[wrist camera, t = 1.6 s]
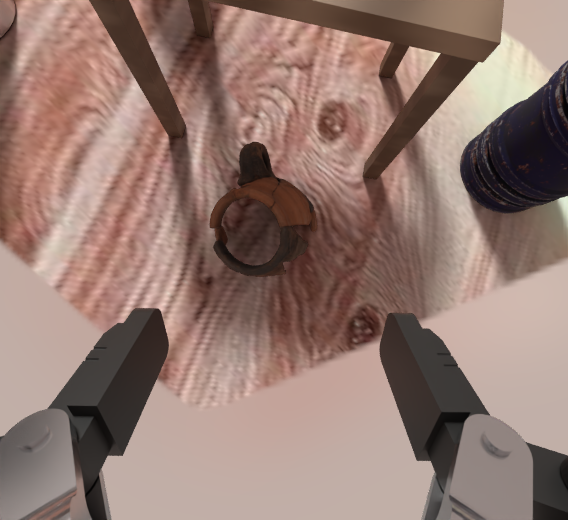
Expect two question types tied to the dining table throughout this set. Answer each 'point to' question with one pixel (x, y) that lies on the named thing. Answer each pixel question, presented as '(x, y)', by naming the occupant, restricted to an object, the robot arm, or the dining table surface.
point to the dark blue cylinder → (522, 152)
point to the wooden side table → (350, 18)
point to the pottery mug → (278, 198)
